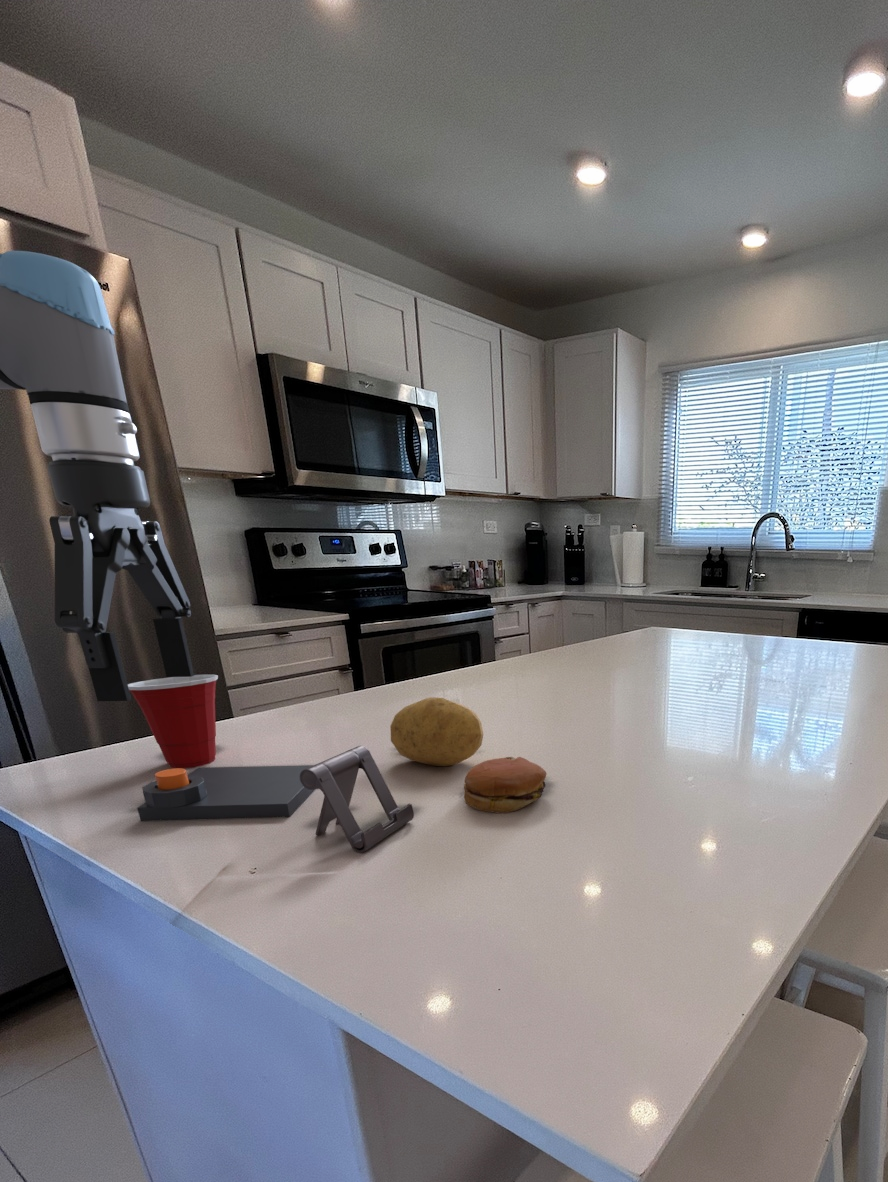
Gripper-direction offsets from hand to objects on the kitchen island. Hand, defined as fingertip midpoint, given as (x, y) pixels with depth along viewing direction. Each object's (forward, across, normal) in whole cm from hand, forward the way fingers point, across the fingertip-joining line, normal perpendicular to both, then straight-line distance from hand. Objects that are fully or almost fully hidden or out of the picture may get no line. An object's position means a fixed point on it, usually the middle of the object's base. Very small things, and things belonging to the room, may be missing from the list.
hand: (150, 687), depth 70 cm
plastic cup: (+15, +19, +8) cm, 26 cm away
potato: (+15, +16, -27) cm, 35 cm away
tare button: (+11, 0, 0) cm, 11 cm away
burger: (+15, +1, -37) cm, 40 cm away
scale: (+14, +4, -5) cm, 16 cm away
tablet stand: (+15, -8, -22) cm, 28 cm away
